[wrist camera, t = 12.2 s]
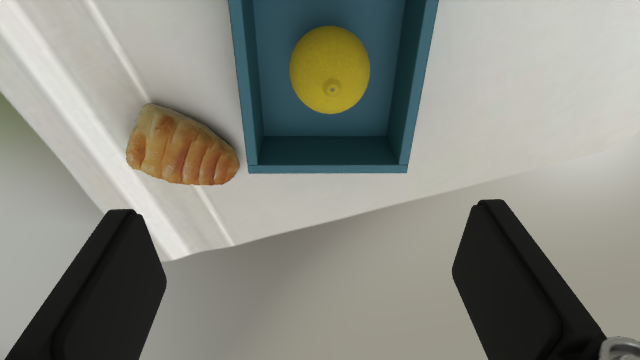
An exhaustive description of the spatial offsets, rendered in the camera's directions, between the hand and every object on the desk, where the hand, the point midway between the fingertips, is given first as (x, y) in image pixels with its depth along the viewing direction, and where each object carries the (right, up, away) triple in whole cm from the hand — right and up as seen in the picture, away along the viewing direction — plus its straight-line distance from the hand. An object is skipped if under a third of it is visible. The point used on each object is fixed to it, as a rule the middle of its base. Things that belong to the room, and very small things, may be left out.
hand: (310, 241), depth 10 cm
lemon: (+1, +12, +17) cm, 21 cm away
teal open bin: (+1, +12, +18) cm, 22 cm away
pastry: (-12, +5, +22) cm, 26 cm away
